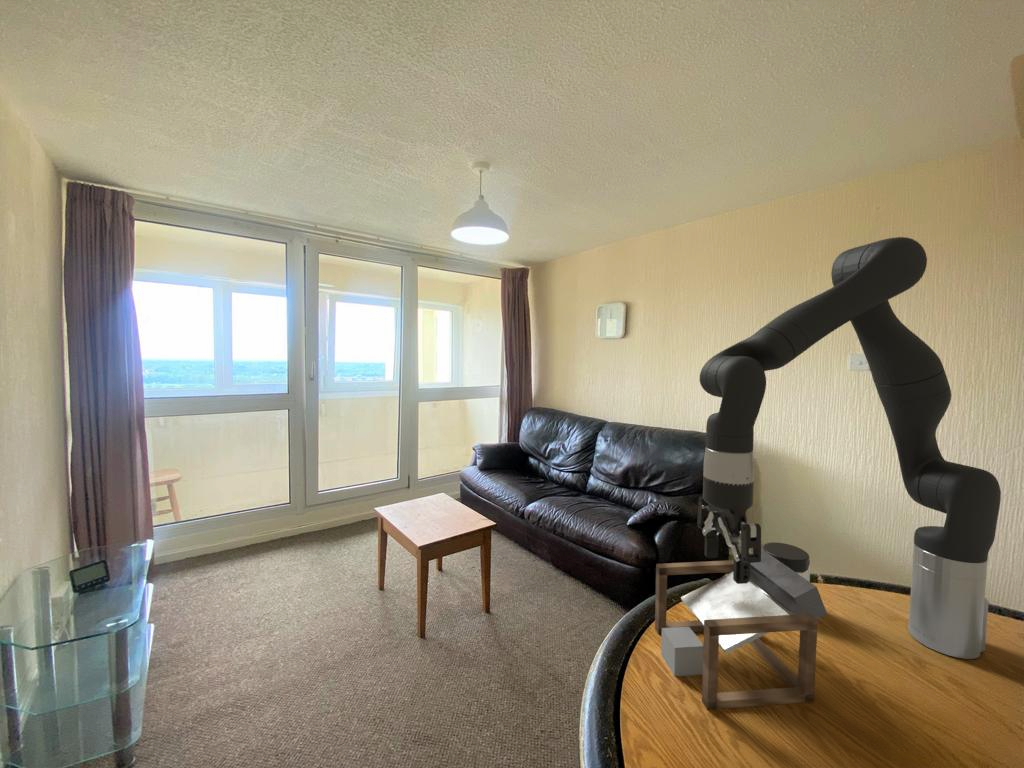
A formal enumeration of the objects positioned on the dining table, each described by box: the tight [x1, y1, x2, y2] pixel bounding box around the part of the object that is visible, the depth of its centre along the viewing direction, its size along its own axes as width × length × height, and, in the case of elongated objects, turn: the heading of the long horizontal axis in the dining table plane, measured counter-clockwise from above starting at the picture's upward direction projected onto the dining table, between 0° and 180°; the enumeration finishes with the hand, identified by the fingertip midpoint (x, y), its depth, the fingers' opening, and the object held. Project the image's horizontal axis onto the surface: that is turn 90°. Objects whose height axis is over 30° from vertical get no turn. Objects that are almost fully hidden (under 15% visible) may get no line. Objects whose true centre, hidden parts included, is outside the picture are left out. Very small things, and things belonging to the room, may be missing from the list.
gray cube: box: [660, 627, 703, 677], centre depth 71 cm, size 5×5×5 cm
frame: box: [654, 559, 818, 711], centre depth 72 cm, size 17×18×13 cm
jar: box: [762, 541, 811, 582], centre depth 87 cm, size 9×8×12 cm
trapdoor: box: [680, 548, 828, 655], centre depth 72 cm, size 18×15×5 cm
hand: (725, 568), depth 71 cm, fingers open, 8 cm apart
